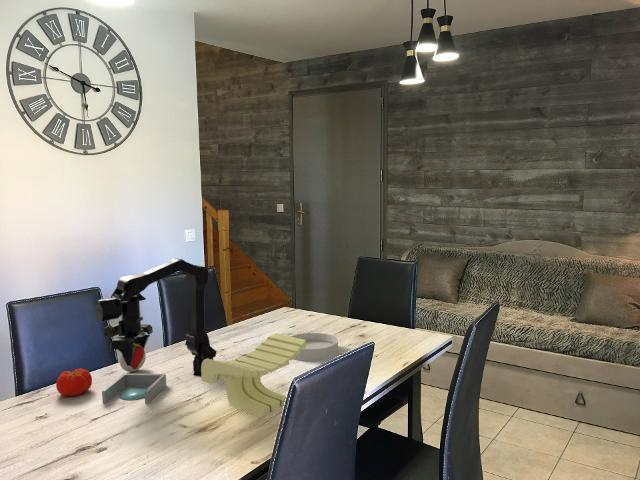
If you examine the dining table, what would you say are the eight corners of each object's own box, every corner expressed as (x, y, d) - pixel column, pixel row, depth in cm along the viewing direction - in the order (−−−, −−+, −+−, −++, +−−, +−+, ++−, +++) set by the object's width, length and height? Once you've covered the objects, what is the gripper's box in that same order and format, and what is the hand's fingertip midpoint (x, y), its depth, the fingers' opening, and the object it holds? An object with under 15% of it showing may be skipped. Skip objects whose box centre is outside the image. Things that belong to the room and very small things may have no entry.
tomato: (54, 401, 166) (52, 379, 165) (61, 388, 177) (59, 367, 176) (90, 397, 169) (88, 375, 168) (95, 384, 180) (93, 364, 179)
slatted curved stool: (271, 381, 179) (269, 332, 177) (306, 392, 169) (305, 339, 167) (203, 413, 155) (200, 356, 153) (240, 428, 146) (238, 367, 144)
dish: (340, 344, 220) (340, 333, 219) (336, 362, 198) (336, 349, 197) (288, 343, 222) (288, 332, 221) (279, 361, 200) (279, 349, 199)
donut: (123, 376, 187) (121, 349, 186) (118, 374, 189) (116, 347, 188) (148, 368, 194) (146, 343, 193) (143, 366, 197) (142, 341, 195)
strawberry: (119, 371, 168) (117, 342, 167) (136, 364, 175) (134, 335, 174) (132, 374, 166) (130, 344, 164) (149, 366, 172) (147, 337, 171)
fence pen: (166, 385, 178) (165, 374, 177) (148, 403, 163) (147, 391, 162) (124, 384, 179) (123, 373, 179) (102, 403, 164) (101, 391, 164)
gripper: (120, 308, 178) (123, 352, 180) (92, 323, 160) (96, 372, 161) (151, 308, 177) (154, 352, 179) (126, 323, 159) (130, 372, 160)
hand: (134, 361), depth 170 cm, fingers closed on strawberry, 7 cm apart
